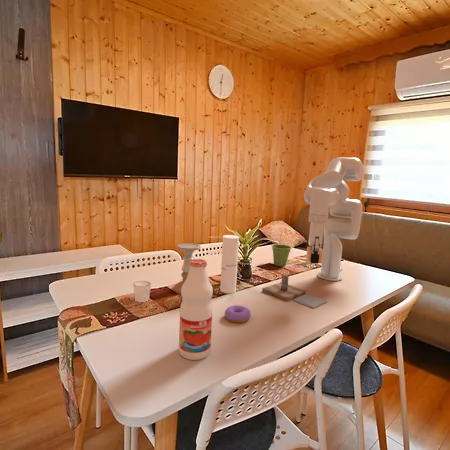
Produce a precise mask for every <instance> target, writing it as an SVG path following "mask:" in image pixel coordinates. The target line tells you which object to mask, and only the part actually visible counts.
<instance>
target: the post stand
mask: <svg viewBox="0 0 450 450" xmlns="http://www.w3.org/2000/svg"><path fill="white" fill-rule="evenodd" d="M289 277H290V276H289V275H288V274H284V273H283V274H282V275H281V282H278V283H274V284H272V285H268V286H264V287H262V288H261V290H262V293H265V294H268V295H270V296H272V297H275V298H278V299H280V300H283V301H285V302H290V301H293V299H295V298H298V297H300V296H303V295H305V294H307V290H304V289H302V288H300V287H296V286H293V285H290V284H289V279H290V278H289Z"/></svg>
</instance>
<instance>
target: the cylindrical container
mask: <svg viewBox="0 0 450 450" xmlns="http://www.w3.org/2000/svg"><path fill="white" fill-rule="evenodd" d="M239 244H240V236H238V235H234V234H225V235H223V236H222V248H221V265H220V267H221V268H220V270H221V271H220V284H219V285H220V288H219V291H220V292H221V293H223V292H224V293H223V294H235V293H236V291H237V280H238V279H237V276H238V262H239V260H238V259H239Z"/></svg>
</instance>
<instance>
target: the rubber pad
mask: <svg viewBox="0 0 450 450" xmlns="http://www.w3.org/2000/svg"><path fill="white" fill-rule="evenodd" d="M292 301H293V302H296V303H298V304H302V305H303V306H307V307H309V308H310V309H316V308H318V307H320V306H322V305H325V304H326V303H327V300H324V299H321V298H318V297H315V296H314V295H313V296H312V295H310V294H307V293H306V294H305V295H302V296H300V297H297V298H295V299H292Z"/></svg>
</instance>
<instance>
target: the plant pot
mask: <svg viewBox="0 0 450 450" xmlns="http://www.w3.org/2000/svg"><path fill="white" fill-rule="evenodd" d="M292 247H293V246H291V245H287V244H281V243H279V244H278V243H277V244H271V248H272V257H273V265H275V266H277V267H285V266H286V265H287V262H288V258H289V257H290V253H291V249H292Z"/></svg>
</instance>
